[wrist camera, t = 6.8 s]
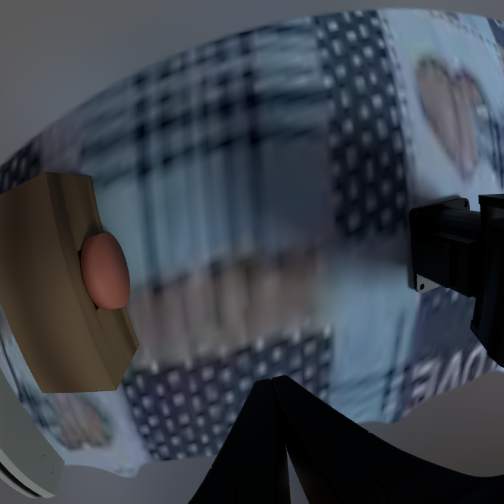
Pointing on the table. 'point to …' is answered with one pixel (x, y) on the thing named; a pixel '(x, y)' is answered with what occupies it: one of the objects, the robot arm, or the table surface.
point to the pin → (105, 271)
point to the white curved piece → (25, 450)
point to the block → (58, 287)
